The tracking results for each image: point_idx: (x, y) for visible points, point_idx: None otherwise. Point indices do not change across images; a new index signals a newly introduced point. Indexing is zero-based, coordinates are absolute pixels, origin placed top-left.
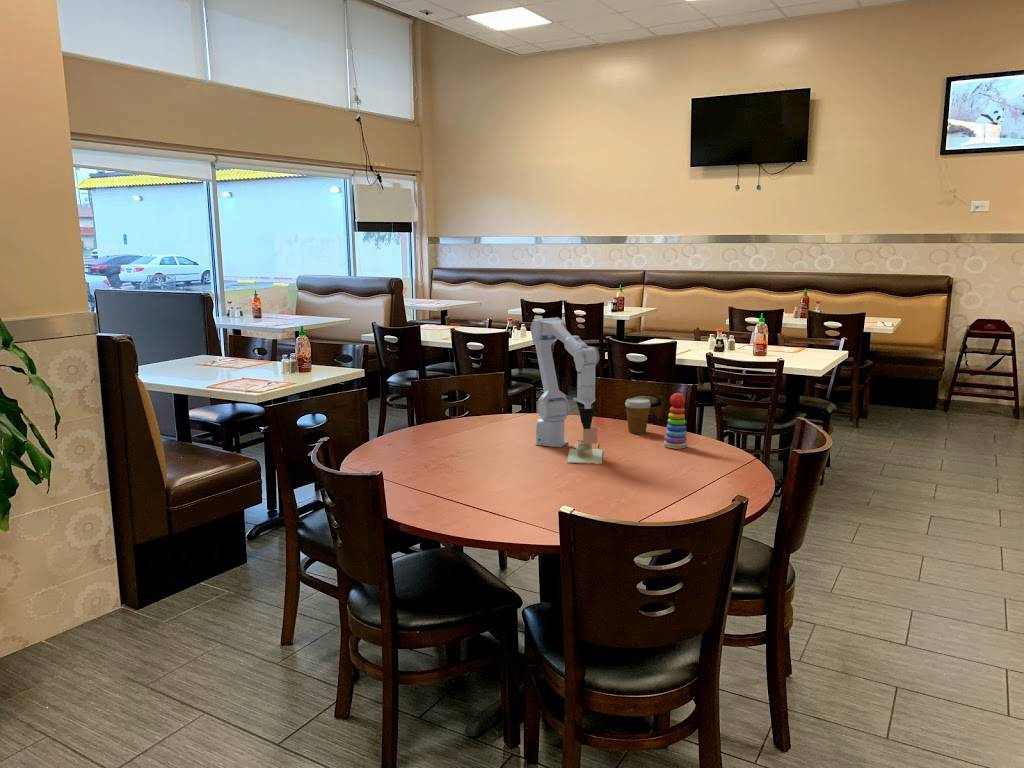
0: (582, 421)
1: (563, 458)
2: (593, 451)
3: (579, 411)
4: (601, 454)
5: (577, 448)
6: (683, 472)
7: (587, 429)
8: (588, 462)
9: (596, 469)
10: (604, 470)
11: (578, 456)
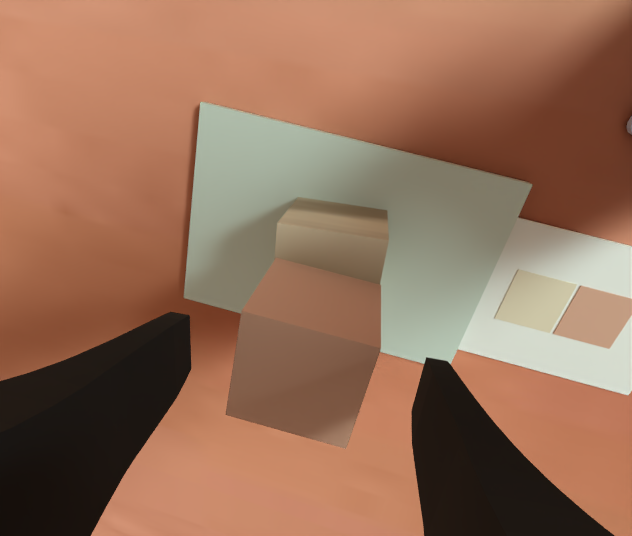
0: (94, 347)
1: (325, 96)
2: (414, 314)
3: (492, 460)
4: None
5: (383, 219)
6: (103, 516)
7: (266, 352)
8: (190, 231)
9: (101, 245)
10: (89, 277)
11: (298, 199)
